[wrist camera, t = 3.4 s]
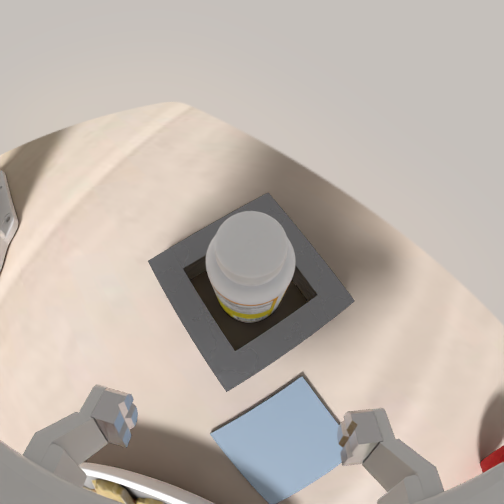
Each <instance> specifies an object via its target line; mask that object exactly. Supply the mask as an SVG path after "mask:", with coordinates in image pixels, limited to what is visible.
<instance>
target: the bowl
mask: <svg viewBox="0 0 504 504" xmlns="http://www.w3.org/2000/svg"><path fill="white" fill-rule="evenodd" d="M79 467H80V468H81V469H82V470H83V471H84V472H85V473H86V475H87V478H86V481H85V483H84V486H83V488H85V489H87V490H90V491H92V492H94V493H97V494H99V495H102V496H105V497H107V498H110V499H113V500H116V501H118V502H121V503H124V504H215V503H213V502H211V501H209V500H207V499H204V498H202V497H200V496H198V495H196V494H193V493H191V492H189V491H186V490H184V489H181V488H179V487H176V486H174V485H171V484H169V483H166V482H163V481H160V480H157V479H155V478H151V477H148V476H145V475H142V474H139V473H135V472H132V471H128V470H124V469H120V468H116V467H112V466H107V465H101V464H95V463H87V462H83V463H81V464H80V465H79Z"/></svg>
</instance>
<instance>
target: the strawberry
mask: <svg viewBox="0 0 504 504" xmlns="http://www.w3.org/2000/svg"><path fill="white" fill-rule="evenodd" d="M502 462H504V446H502V447H501V448H499V449H497V450H496V451H494V452H493V453H491V454H490V455H489V456H488V457H486V458H484V459H483V460H482V461H481V464H480V466H481V468H482V471H483V473H484V472H485V471H487V470H489V469H491V468H492V467H494V466H496V465H498V464H499V463H502Z"/></svg>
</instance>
